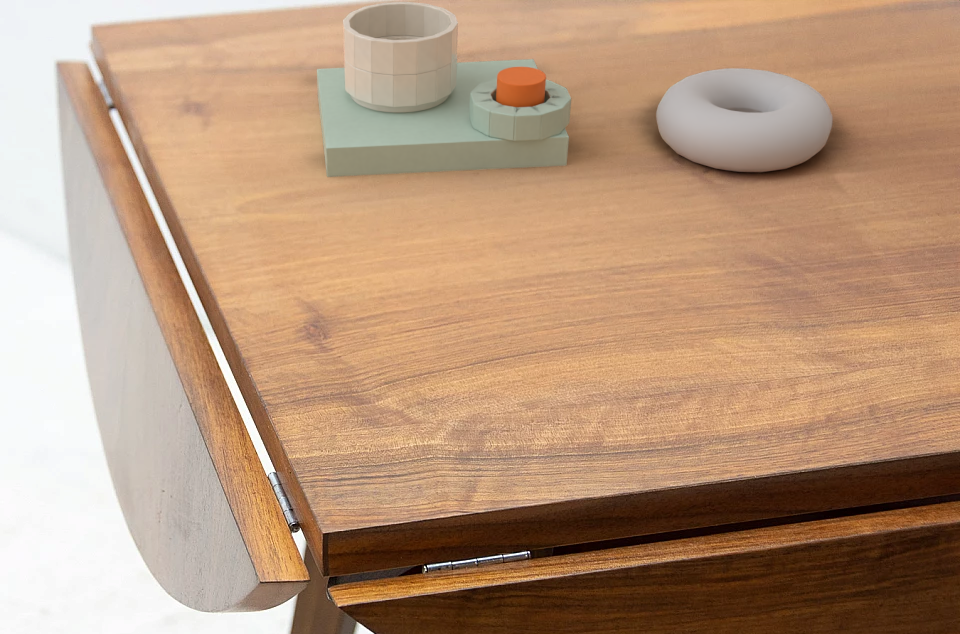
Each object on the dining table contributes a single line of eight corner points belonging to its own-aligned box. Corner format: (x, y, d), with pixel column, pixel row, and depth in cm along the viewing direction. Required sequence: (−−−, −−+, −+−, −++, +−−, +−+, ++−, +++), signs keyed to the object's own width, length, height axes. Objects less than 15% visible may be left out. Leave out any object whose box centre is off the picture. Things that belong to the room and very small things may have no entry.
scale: (537, 86, 91) (540, 34, 88) (573, 169, 81) (578, 112, 78) (317, 96, 90) (316, 44, 88) (327, 180, 80) (325, 124, 78)
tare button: (539, 90, 82) (541, 65, 81) (548, 109, 80) (550, 83, 79) (492, 92, 82) (493, 67, 81) (499, 111, 80) (501, 86, 79)
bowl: (448, 69, 88) (449, -1, 86) (461, 112, 83) (464, 39, 80) (341, 74, 88) (340, 4, 86) (348, 117, 83) (346, 44, 80)
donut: (618, 146, 83) (758, 198, 77) (623, 91, 81) (766, 140, 75) (722, 100, 88) (862, 146, 82) (729, 47, 86) (873, 90, 80)
